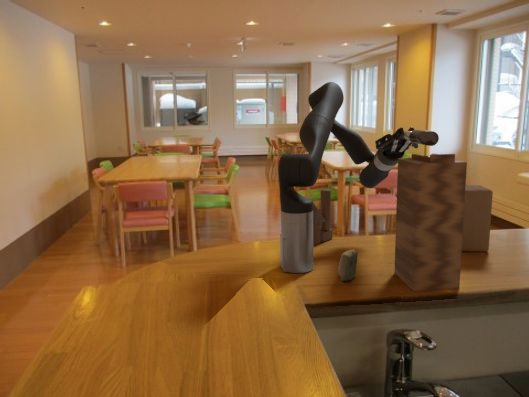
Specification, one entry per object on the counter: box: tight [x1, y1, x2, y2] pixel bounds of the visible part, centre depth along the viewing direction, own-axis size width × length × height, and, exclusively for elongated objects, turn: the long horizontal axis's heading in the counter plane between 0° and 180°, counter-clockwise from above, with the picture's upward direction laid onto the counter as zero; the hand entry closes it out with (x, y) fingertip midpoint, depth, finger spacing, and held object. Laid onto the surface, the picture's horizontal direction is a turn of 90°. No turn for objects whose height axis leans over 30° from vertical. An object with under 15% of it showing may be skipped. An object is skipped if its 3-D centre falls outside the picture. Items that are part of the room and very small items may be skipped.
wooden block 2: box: [462, 185, 493, 253], centre depth 146 cm, size 10×10×20 cm
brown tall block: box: [394, 153, 468, 292], centre depth 117 cm, size 12×13×34 cm
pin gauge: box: [400, 129, 440, 147], centre depth 124 cm, size 4×21×4 cm, turn 4°
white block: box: [337, 248, 359, 283], centre depth 122 cm, size 6×5×8 cm
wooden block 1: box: [313, 188, 333, 246], centre depth 158 cm, size 4×11×18 cm, turn 137°
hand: (407, 130), depth 129 cm, fingers closed on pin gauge, 2 cm apart
